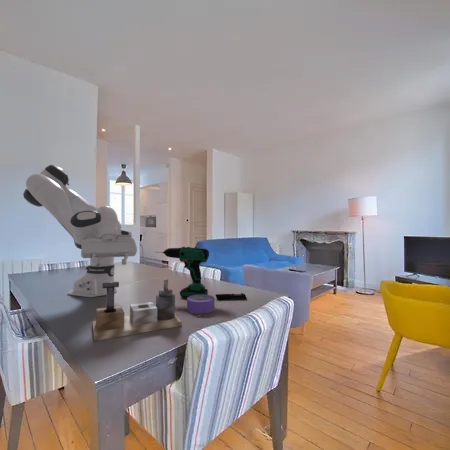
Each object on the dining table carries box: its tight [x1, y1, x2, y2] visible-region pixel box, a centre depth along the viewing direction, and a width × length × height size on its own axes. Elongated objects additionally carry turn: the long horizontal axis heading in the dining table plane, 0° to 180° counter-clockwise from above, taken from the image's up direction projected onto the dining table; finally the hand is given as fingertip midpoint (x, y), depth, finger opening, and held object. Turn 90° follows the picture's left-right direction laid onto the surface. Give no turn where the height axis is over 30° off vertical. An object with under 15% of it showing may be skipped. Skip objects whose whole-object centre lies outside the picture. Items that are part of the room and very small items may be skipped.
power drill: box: [156, 246, 210, 299], centre depth 131 cm, size 6×29×25 cm, turn 79°
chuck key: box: [102, 281, 120, 313], centre depth 89 cm, size 5×3×13 cm, turn 118°
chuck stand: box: [92, 278, 183, 342], centre depth 93 cm, size 28×14×16 cm, turn 119°
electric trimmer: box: [214, 292, 248, 301], centre depth 129 cm, size 4×16×3 cm, turn 100°
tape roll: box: [186, 294, 216, 315], centre depth 112 cm, size 12×12×5 cm
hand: (111, 264), depth 100 cm, fingers open, 8 cm apart
